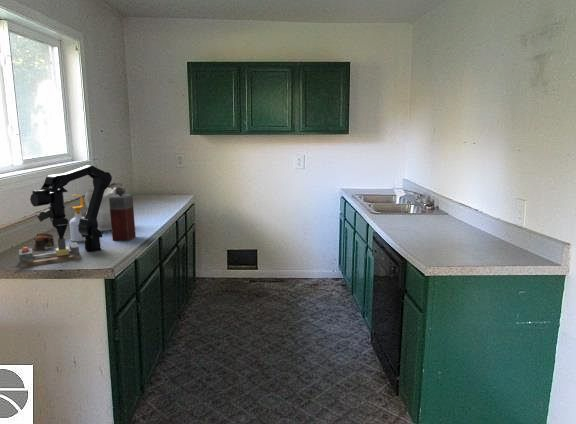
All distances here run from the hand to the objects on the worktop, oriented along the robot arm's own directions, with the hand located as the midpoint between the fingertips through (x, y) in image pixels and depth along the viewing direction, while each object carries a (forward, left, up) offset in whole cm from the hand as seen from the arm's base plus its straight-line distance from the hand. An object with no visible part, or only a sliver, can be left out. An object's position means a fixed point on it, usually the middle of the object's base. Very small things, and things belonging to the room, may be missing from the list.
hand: (60, 236), depth 204 cm
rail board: (+4, 0, -10) cm, 11 cm away
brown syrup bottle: (-32, -23, -10) cm, 41 cm away
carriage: (0, 0, -8) cm, 8 cm away
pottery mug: (+6, -26, -10) cm, 28 cm away
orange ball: (+14, 0, -5) cm, 15 cm away
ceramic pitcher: (-26, -52, -10) cm, 59 cm away
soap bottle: (-11, -33, -10) cm, 36 cm away
